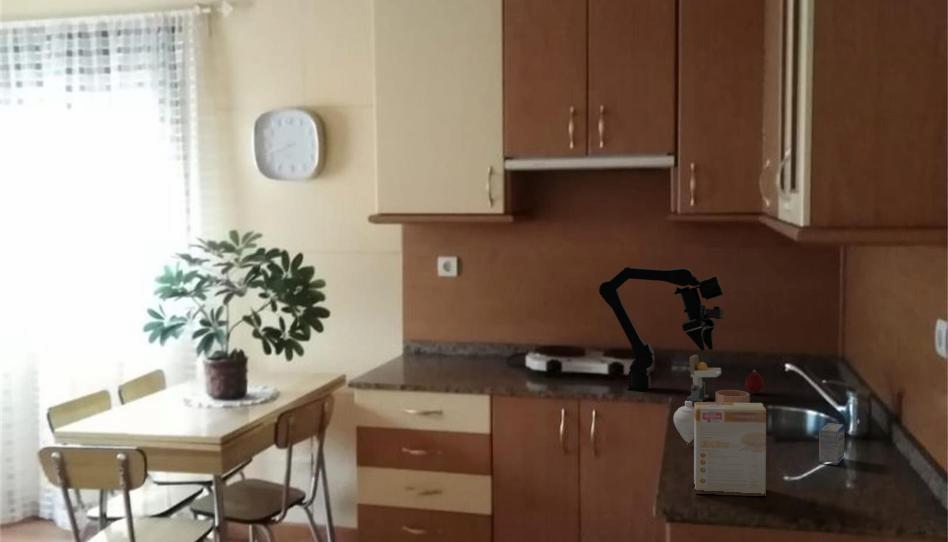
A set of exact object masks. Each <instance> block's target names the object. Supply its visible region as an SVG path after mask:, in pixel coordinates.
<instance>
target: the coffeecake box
mask: <svg viewBox="0 0 948 542" xmlns="http://www.w3.org/2000/svg"><path fill="white" fill-rule="evenodd" d="M693 407H694V439H693V455H694V456H693V462H694V463H693V483H694V484H695V487H694V490H695V489H696V490H704V491H724V492H740V493H741V492H742V493H761V494H764V493H765V494H766V489H767V488H766V484H767V483H766V482H767V481H766V478H767V477H766V472H767V471H766V469H767V467H766V466H767V461H766V460H767V459H766V457H767V409H766V407H765V406H764V404H763V402H750V403H726V402H715V401H704V402H695V401H694V406H693ZM694 484H693V485H694Z"/></svg>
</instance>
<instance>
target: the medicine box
mask: <svg viewBox="0 0 948 542" xmlns="http://www.w3.org/2000/svg"><path fill="white" fill-rule="evenodd" d="M818 438H819V440H818V442H819V444H818V445H819V447H818V450H819V451H818V453H819V454H818V455H819V456H818V461H823V462H833V463H838V462H839V461H840V460H841V458H842V457H843V456H844V457H845V425H844V424H841V423H833V422H831V423H828V422H827V423H826V424H824V426H823V427H822V428H821V429H819V437H818Z"/></svg>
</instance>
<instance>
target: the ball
mask: <svg viewBox="0 0 948 542" xmlns="http://www.w3.org/2000/svg"><path fill="white" fill-rule="evenodd" d="M707 368H709V367H708V365H707V363H706V362H703V361H699V363H698V364H697V366H696V369H697V371H702V370H707Z"/></svg>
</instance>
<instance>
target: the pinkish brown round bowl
mask: <svg viewBox="0 0 948 542" xmlns="http://www.w3.org/2000/svg"><path fill="white" fill-rule="evenodd" d="M714 402H726V403H751V394H750V392H747V391H743V390H737V389H722V390H716V391H715V392H714Z"/></svg>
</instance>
